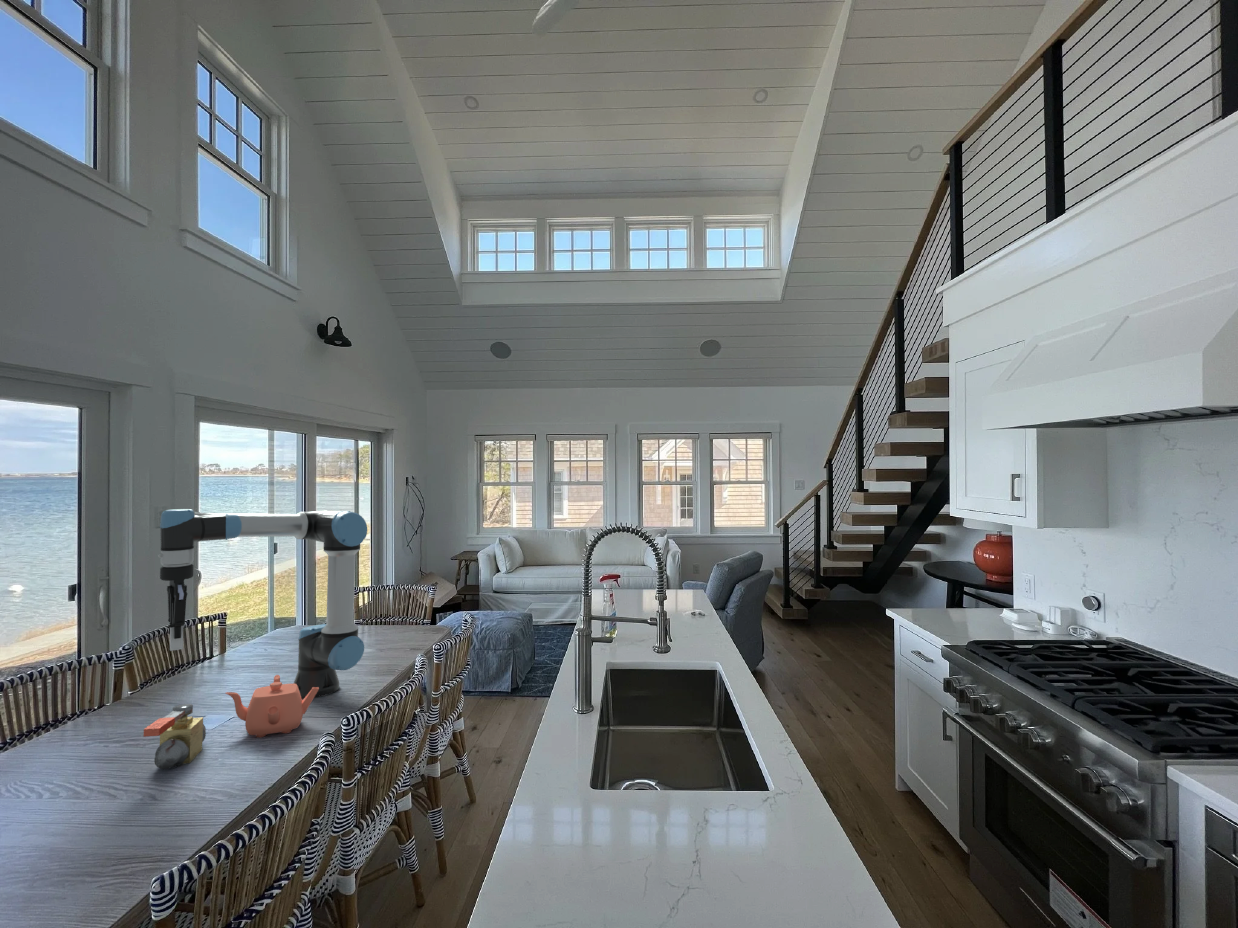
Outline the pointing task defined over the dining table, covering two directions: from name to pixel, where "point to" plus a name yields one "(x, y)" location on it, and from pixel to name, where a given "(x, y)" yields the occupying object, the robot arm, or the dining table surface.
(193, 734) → the valve body
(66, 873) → the dining table surface
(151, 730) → the lever
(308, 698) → the teapot
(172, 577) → the robot arm
